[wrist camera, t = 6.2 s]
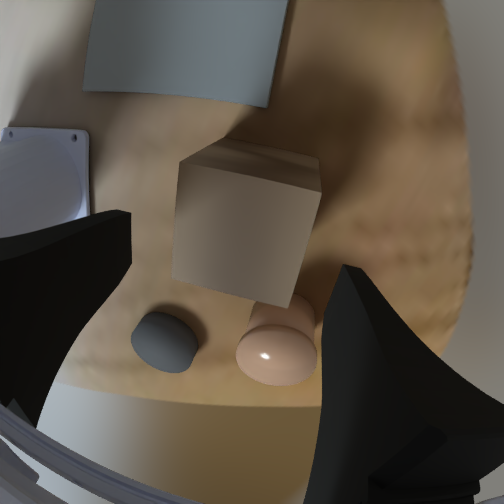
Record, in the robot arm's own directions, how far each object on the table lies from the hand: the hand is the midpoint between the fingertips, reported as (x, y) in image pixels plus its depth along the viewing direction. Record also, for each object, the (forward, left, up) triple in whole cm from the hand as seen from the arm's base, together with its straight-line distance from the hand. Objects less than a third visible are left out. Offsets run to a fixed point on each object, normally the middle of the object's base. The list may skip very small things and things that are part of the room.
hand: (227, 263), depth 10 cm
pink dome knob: (+3, -8, -8) cm, 11 cm away
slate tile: (-6, +10, -8) cm, 14 cm away
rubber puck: (-5, -13, -8) cm, 16 cm away
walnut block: (0, 0, -8) cm, 8 cm away
